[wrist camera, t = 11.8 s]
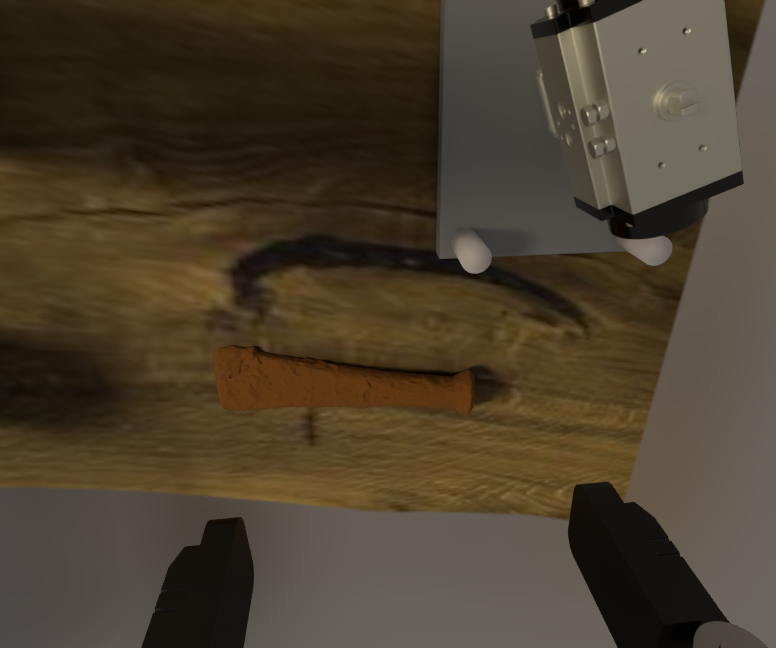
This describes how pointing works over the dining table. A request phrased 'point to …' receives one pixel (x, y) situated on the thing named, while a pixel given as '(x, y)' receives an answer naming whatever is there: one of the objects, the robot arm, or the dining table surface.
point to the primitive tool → (330, 384)
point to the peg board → (506, 147)
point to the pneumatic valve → (640, 108)
